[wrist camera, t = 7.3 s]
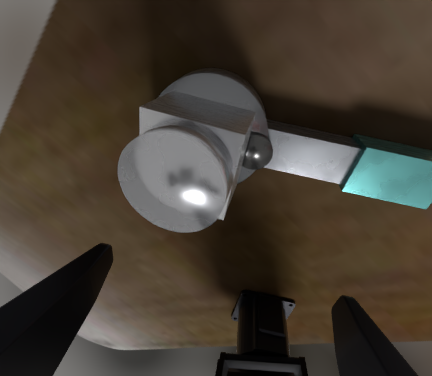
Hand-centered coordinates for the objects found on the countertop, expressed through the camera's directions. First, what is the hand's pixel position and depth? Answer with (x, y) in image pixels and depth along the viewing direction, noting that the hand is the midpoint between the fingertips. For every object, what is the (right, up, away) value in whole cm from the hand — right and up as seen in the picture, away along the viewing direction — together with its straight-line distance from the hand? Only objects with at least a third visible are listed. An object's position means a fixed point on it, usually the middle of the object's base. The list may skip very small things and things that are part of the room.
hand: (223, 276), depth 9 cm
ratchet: (+5, +7, +9) cm, 12 cm away
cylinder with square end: (-1, +7, +7) cm, 9 cm away
